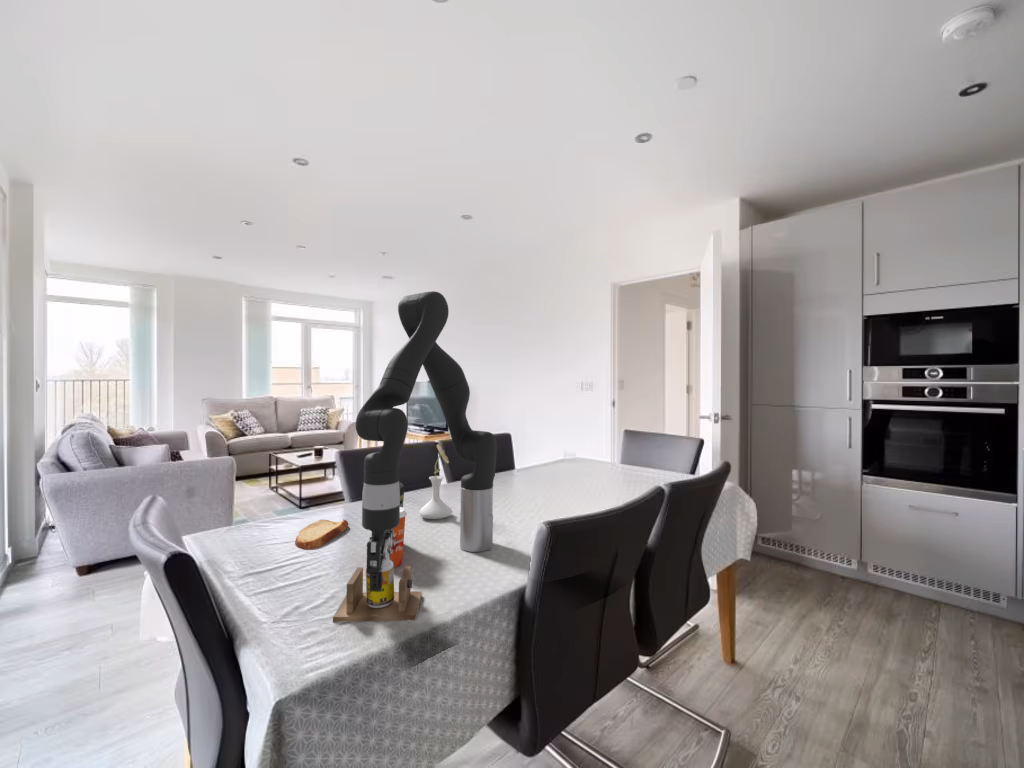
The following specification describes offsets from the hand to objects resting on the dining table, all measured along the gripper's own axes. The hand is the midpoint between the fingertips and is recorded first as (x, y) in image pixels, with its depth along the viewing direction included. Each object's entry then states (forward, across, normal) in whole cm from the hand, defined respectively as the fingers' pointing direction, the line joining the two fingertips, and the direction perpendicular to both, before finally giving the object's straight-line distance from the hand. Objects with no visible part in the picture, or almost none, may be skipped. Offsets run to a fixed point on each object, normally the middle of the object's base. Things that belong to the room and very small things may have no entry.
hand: (380, 580), depth 94 cm
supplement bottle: (+5, 0, 0) cm, 5 cm away
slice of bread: (+6, +45, +26) cm, 52 cm away
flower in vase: (+6, +63, -6) cm, 64 cm away
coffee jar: (+6, +34, +5) cm, 35 cm away
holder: (+6, 0, 0) cm, 6 cm away
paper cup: (+6, +23, +2) cm, 24 cm away
